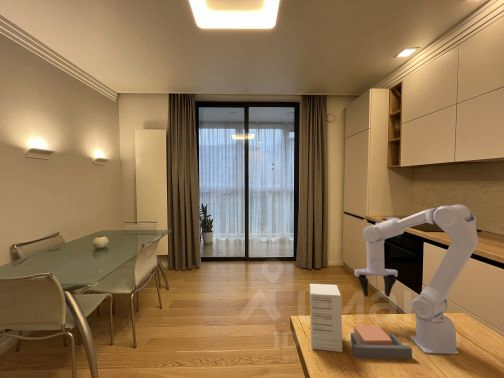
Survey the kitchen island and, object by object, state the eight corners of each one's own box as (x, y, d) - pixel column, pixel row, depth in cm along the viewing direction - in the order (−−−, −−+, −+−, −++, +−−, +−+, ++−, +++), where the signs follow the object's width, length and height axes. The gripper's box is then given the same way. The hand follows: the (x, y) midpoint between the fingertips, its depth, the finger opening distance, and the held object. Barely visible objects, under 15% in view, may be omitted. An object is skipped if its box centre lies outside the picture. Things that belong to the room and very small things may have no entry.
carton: (378, 337, 81) (378, 325, 81) (392, 354, 73) (391, 340, 73) (354, 338, 81) (354, 325, 82) (364, 354, 73) (364, 340, 74)
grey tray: (398, 343, 78) (398, 333, 78) (412, 359, 70) (411, 348, 70) (346, 342, 79) (345, 332, 79) (354, 357, 71) (353, 347, 71)
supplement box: (343, 353, 74) (341, 296, 74) (311, 349, 76) (309, 294, 76) (338, 334, 83) (337, 284, 83) (310, 332, 85) (309, 282, 85)
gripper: (390, 255, 95) (391, 291, 94) (351, 255, 96) (352, 291, 95) (400, 260, 88) (401, 299, 87) (358, 260, 89) (359, 298, 88)
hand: (376, 295), depth 91 cm, fingers open, 7 cm apart
